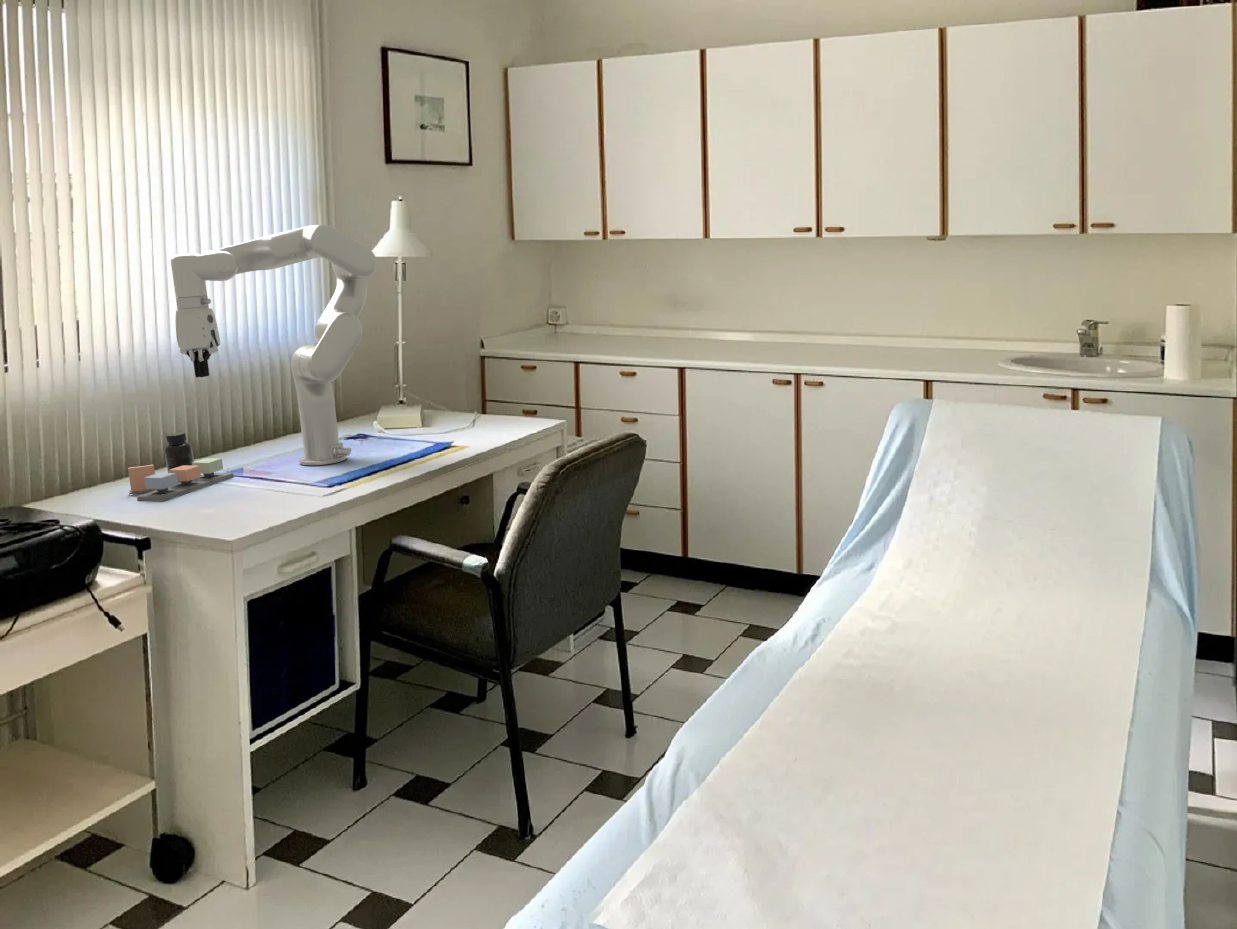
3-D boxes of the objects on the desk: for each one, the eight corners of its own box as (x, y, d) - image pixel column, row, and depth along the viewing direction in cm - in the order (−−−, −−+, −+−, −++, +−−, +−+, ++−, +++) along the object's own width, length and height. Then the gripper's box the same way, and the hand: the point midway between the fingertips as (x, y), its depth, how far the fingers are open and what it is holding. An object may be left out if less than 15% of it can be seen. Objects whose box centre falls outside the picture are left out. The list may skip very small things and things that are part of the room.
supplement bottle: (185, 474, 312) (179, 430, 310) (201, 476, 309) (195, 432, 306) (163, 480, 307) (156, 435, 304) (179, 482, 303) (172, 436, 301)
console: (233, 476, 306) (233, 473, 305) (163, 501, 282) (163, 497, 282) (208, 476, 308) (208, 472, 308) (137, 500, 285) (136, 496, 284)
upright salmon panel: (129, 492, 294) (125, 467, 293) (159, 488, 297) (155, 463, 295) (129, 495, 291) (125, 469, 289) (159, 491, 293) (155, 465, 292)
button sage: (223, 472, 304) (221, 458, 303) (210, 477, 299) (208, 462, 298) (207, 472, 306) (205, 458, 305) (193, 477, 301) (191, 462, 300)
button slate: (178, 488, 288) (176, 473, 288) (163, 493, 284) (161, 477, 283) (161, 487, 290) (159, 472, 289) (146, 492, 286) (144, 477, 285)
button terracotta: (201, 480, 296) (199, 465, 295) (187, 485, 291) (185, 470, 291) (185, 479, 298) (183, 465, 297) (170, 484, 293) (168, 469, 292)
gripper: (226, 301, 294) (236, 374, 298) (178, 303, 299) (188, 374, 303) (206, 304, 287) (216, 378, 291) (158, 306, 292) (168, 379, 296)
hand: (202, 376), depth 297 cm, fingers closed
